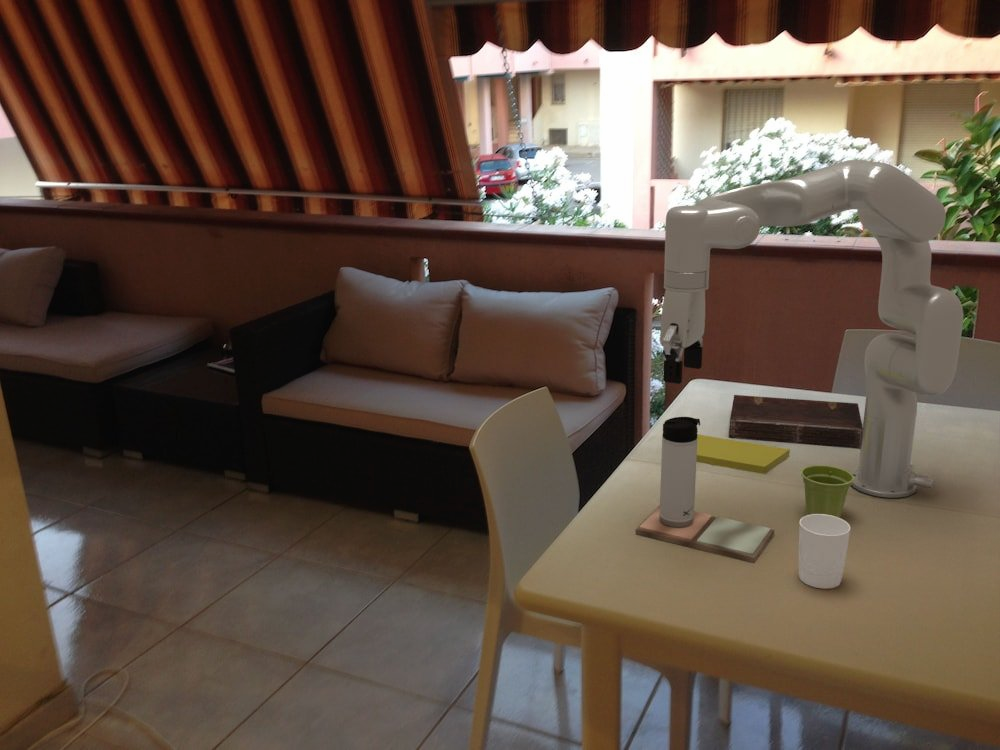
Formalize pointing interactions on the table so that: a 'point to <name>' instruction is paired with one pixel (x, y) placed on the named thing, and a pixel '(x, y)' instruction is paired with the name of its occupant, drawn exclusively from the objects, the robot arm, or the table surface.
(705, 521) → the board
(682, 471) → the travel mug
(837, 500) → the plant pot
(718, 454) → the flat olive board
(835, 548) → the white cup
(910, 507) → the table surface
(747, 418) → the hardback book
